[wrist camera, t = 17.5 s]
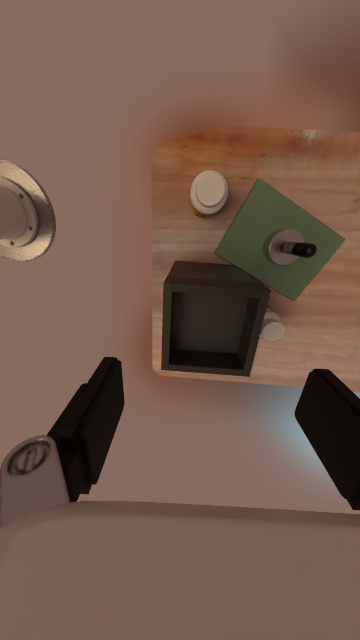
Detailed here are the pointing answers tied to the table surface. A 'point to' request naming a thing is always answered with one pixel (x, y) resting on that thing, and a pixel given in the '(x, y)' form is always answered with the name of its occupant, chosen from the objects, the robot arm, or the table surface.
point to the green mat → (258, 223)
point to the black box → (211, 319)
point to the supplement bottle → (208, 193)
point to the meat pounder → (287, 247)
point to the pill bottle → (272, 326)
